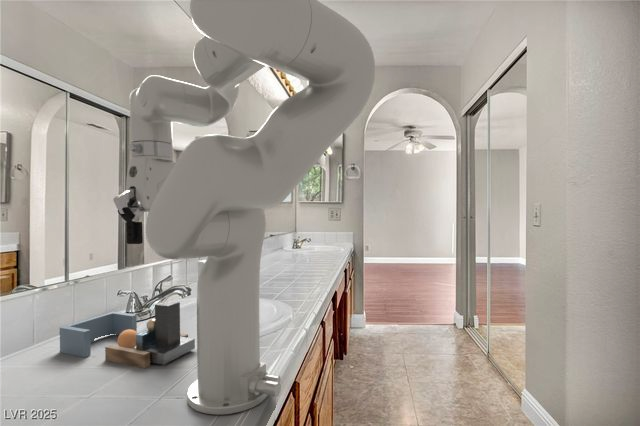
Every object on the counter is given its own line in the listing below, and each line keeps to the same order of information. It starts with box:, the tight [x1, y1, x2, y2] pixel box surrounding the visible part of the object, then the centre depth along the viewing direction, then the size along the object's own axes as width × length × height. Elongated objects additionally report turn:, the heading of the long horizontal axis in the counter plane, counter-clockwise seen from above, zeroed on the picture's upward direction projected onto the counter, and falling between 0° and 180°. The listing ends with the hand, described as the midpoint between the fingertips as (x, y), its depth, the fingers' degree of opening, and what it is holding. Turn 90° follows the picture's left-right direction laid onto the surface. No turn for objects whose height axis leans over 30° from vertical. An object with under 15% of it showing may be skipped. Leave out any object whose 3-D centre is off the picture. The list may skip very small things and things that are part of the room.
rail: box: [104, 332, 189, 369], centre depth 76 cm, size 10×11×2 cm
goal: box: [59, 311, 138, 358], centre depth 81 cm, size 7×12×5 cm, turn 158°
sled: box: [135, 300, 196, 365], centre depth 74 cm, size 8×8×10 cm
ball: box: [116, 329, 139, 349], centre depth 78 cm, size 4×4×4 cm
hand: (154, 241), depth 73 cm, fingers open, 9 cm apart
